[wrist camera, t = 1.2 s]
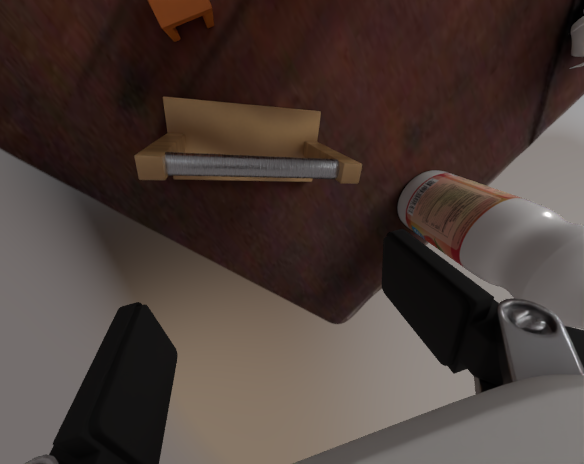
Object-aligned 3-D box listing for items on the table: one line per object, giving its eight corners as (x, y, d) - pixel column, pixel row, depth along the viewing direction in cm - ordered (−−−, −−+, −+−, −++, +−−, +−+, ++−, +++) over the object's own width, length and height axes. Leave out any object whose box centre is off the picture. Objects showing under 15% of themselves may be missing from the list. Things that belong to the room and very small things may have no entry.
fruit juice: (457, 164, 37) (894, 293, 13) (442, 221, 41) (742, 392, 17) (400, 173, 35) (780, 340, 11) (391, 231, 40) (646, 435, 16)
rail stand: (164, 96, 24) (121, 97, 14) (317, 110, 28) (372, 119, 18) (175, 176, 28) (147, 224, 18) (309, 179, 32) (350, 219, 22)
